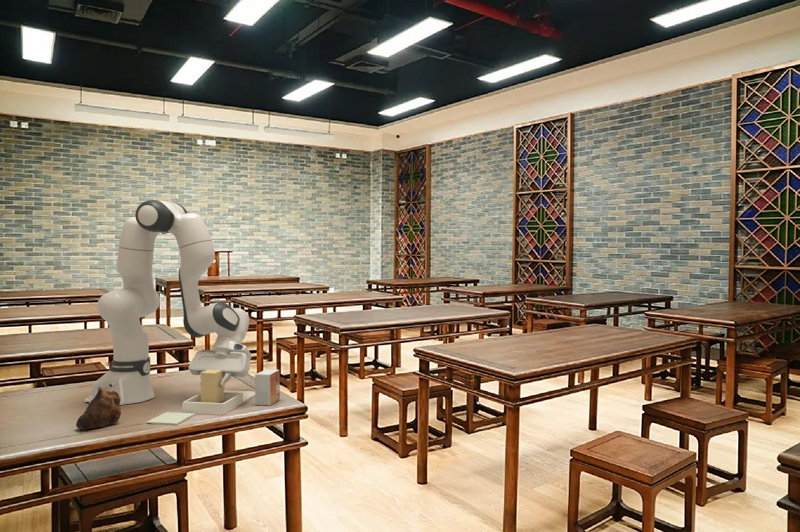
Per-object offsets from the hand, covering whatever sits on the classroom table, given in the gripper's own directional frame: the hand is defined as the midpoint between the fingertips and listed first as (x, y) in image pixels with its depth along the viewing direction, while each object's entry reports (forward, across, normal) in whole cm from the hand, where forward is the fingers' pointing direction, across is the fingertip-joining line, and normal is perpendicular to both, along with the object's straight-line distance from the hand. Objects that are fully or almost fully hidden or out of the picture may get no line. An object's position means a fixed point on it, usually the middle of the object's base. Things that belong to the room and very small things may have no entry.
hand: (211, 385), depth 178 cm
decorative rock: (+21, -24, -9) cm, 33 cm away
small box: (-1, +15, +12) cm, 20 cm away
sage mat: (+14, -7, -3) cm, 16 cm away
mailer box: (0, 0, +10) cm, 10 cm away
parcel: (+3, 0, +4) cm, 5 cm away
